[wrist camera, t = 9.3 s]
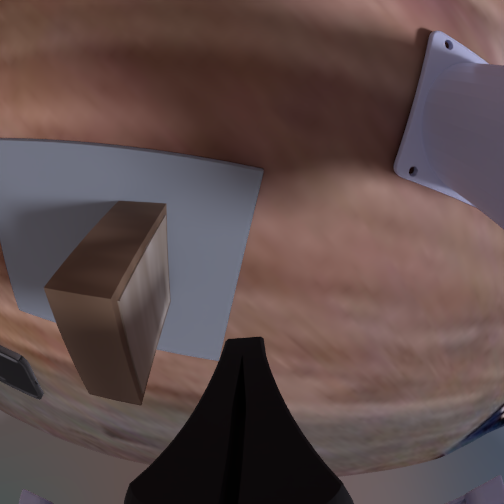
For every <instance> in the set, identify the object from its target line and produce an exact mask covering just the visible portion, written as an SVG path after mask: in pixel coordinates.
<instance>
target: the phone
mask: <svg viewBox="0 0 504 504" xmlns="http://www.w3.org/2000/svg"><path fill="white" fill-rule="evenodd" d="M34 380H36V382H37V384H36V383H35V381H34ZM0 381H1V382H3V383H5V384H7V385H9V386H11V387H13V388H15V389H17V390H19V391H21V392H23V393H25V394H27V395H29V396H32V397H34V398H36V399H41V398H42V396H43V394H44V393H43V390H42V389H41V387H40V385H39V383H38V381H37V379H36V377H35V375H34V373H33V371H32V369H31V366H30V364H29V363H28V361H27V360H26V359H25V358H24V357H23V356H21V355H20V354H18V353H16V352H14V351H11V350H9V349H7V348H5V347H3V346H1V345H0Z"/></svg>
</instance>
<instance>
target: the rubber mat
mask: <svg viewBox="0 0 504 504" xmlns="http://www.w3.org/2000/svg"><path fill="white" fill-rule="evenodd" d="M263 172H264V171H263V169H262V168H257V167H252V166H247V165H242V164H237V163H232V162H227V161H221V160H216V159H210V158H204V157H198V156H192V155H186V154H180V153H173V152H167V151H160V150H152V149H145V148H137V147H129V146H120V145H111V144H101V143H90V142H78V141H64V140H48V139H24V138H0V241H1V246H2V251H3V255H4V259H5V263H6V267H7V271H8V275H9V278H10V282H11V285H12V289H13V292H14V295H15V298H16V302H17V305H18V308H19V310H21V311H24V312H26V313H29V314H32V315H35V316H38V317H41V318H44V319H47V320H50V321H53V322H56V321H55V318H54V316H53V313H52V310H51V308H50V305H49V302H48V299H47V296H46V293H45V290H44V286H45V285H46V284H47V283H48V281H49V280H50V279H51V277H52V276H53V275H54V274H55V272H56V271H57V270H58V269H59V267H60V266H61V265H62V264H63V262H64V261H65V260H66V259H67V257H68V256H69V255H70V254H71V253H72V251H73V250H74V249H75V248H76V247H77V246H78V244H79V243H80V242H81V241H82V240H83V239H84V238H85V236H86V235H87V234H88V233H89V232H90V231H91V230H92V229H93V227H94V226H95V225H96V224H97V223H98V222H99V221H100V220H101V219H102V218H103V217H104V215H105V214H106V213H107V212H108V211H109V210H110V209H111V208H112V207H113V206H114V205H115V204H116V203H117V202H118V201H135V202H152V203H167V244H168V266H169V283H170V298H171V302H170V305H169V309H168V312H167V315H166V318H165V322H164V325H163V328H162V332H161V335H160V339H159V342H158V346H157V350H162V351H167V352H172V353H177V354H182V355H187V356H193V357H198V358H204V359H210V360H216V361H219V357H220V353H221V349H222V344H223V340H224V336H225V331H226V327H227V323H228V319H229V314H230V310H231V306H232V302H233V297H234V293H235V289H236V285H237V280H238V276H239V272H240V268H241V263H242V259H243V255H244V251H245V247H246V242H247V238H248V234H249V230H250V226H251V222H252V217H253V213H254V209H255V205H256V201H257V197H258V193H259V189H260V184H261V180H262V176H263Z"/></svg>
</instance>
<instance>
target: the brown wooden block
mask: <svg viewBox="0 0 504 504" xmlns="http://www.w3.org/2000/svg"><path fill="white" fill-rule="evenodd" d="M44 290H45V293H46V296H47V299H48V302H49V305H50V308H51V310H52V313H53V316H54V318H55V321H56V323H57V326H58V328H59V331H60V333H61V336H62V338H63V340H64V343H65V345H66V347H67V349H68V352H69V354H70V356H71V358H72V360H73V362H74V365H75V367H76V369H77V371H78V373H79V375H80V377H81V379H82V381H83V383H84V385H85V387H86V389H87V390H88V392H89V394H92V395H96V396H100V397H104V398H108V399H112V400H117V401H121V402H126V403H131V404H136V405H142V401H143V397H144V393H145V389H146V386H147V382H148V378H149V374H150V371H151V367H152V363H153V360H154V356H155V353H156V349H157V346H158V342H159V339H160V335H161V332H162V328H163V325H164V322H165V318H166V315H167V312H168V309H169V305H170V302H171V298H170V283H169V266H168V244H167V203H152V202H135V201H118V202H117V203H116V204H115V205H114V206H113V207H112V208H111V209H110V210H109V211H108V212H107V213H106V214H105V215H104V217H103V218H102V219H101V220H100V221H99V222H98V223H97V224H96V225H95V226H94V227H93V229H92V230H91V231H90V232H89V233H88V234H87V235H86V236H85V238H84V239H83V240H82V241H81V242H80V243H79V244H78V246H77V247H76V248H75V249H74V250H73V251H72V253H71V254H70V255H69V256H68V257H67V259H66V260H65V261H64V262H63V264H62V265H61V266H60V267H59V269H58V270H57V271H56V272H55V274H54V275H53V276H52V277H51V279H50V280H49V281H48V283H47V284H46V285H45V286H44Z"/></svg>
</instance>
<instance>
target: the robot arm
mask: <svg viewBox="0 0 504 504" xmlns="http://www.w3.org/2000/svg"><path fill="white" fill-rule="evenodd" d="M445 41H446V42H447V43H448V45H449V48H448V49H447V48H446V46H445ZM412 166H414V171H413V173H411V174H409V169H410V168H411V167H412ZM394 171H395V173H396V174H397V175H398V176H400V177H402V178H404V179H407V180H410V181H413V182H415V183H418V184H421V185H423V186H426V187H428V188H431V189H434V190H436V191H439V192H441V193H444V194H446V195H448V196H451V197H453V198H456V199H458V200H460V201H463V202H465V203H467V204H469V205H472V206H474V207H476V208H478V209H479V210H480V211H482V212H483V213H484V214H485V215H487V216H488V217H489V218H490V219H492V220H493V221H494V222H495V223H497V224H498V225H499V226H500V227H501V228H503V229H504V66H502V65H493V64H488V63H487V62H486V61H485V60H483V59H482V58H480V57H479V56H478V55H476V54H475V53H474V52H472V51H471V50H469V49H468V48H466V47H465V46H463V45H462V44H460V43H459V42H457V41H456V40H454V39H453V38H451V37H450V36H448V35H446V34H445V33H443V32H441V31H433V32H431V33H430V35H429V40H428V45H427V49H426V54H425V58H424V62H423V67H422V71H421V75H420V79H419V83H418V86H417V90H416V94H415V98H414V101H413V105H412V108H411V112H410V115H409V118H408V122H407V125H406V128H405V132H404V135H403V138H402V141H401V144H400V147H399V150H398V153H397V156H396V159H395V162H394ZM19 504H53V503H52V502H50V501H48V500H46V499H44V498H42V497H40V496H38V495H36V494H34V493H31V492H29V491H27V490H25V489H22V493H21V496H20V501H19ZM124 504H354V503H353V500H352V498H351V497H350V495H349V493H348V491H347V490H346V488H345V487H344V485H343V483H342V481H341V480H340V479H339V478H338V477H337V476H336V475H335V474H334V473H333V472H332V471H331V469H330V468H329V467H328V466H327V465H326V464H325V462H324V461H323V460H322V459H321V457H320V456H319V455H318V454H317V452H316V451H315V450H314V448H313V447H312V445H311V444H310V443H309V441H308V440H307V438H306V437H305V436H304V434H303V433H302V431H301V430H300V428H299V426H298V425H297V423H296V422H295V420H294V418H293V416H292V415H291V413H290V411H289V409H288V408H287V406H286V404H285V402H284V400H283V398H282V396H281V394H280V392H279V389H278V387H277V385H276V382H275V380H274V377H273V375H272V372H271V370H270V367H269V364H268V360H267V357H266V352H265V345H264V339H263V338H262V337H250V338H237V339H228V340H227V341H226V342H225V345H224V349H223V352H222V354H221V357H220V360H219V362H218V365H217V367H216V369H215V372H214V374H213V376H212V378H211V380H210V382H209V384H208V386H207V388H206V390H205V392H204V394H203V396H202V397H201V399H200V401H199V403H198V405H197V406H196V408H195V410H194V411H193V413H192V415H191V416H190V418H189V419H188V421H187V422H186V423H185V425H184V426H183V428H182V429H181V430H180V432H179V433H178V434H177V436H176V437H175V438H174V440H173V441H172V442H171V443H170V444H169V446H168V447H167V448H166V449H165V450H164V451H163V452H162V453H161V454H160V456H159V457H158V458H157V459H156V460H155V461H154V462H153V463H152V464H151V465H150V466H149V467H148V468H147V469H146V470H145V471H144V472H142V473H141V474H140V475H139V476H138V477H137V478H136V479H135V480H134V481H132V482H131V483H130V484H129V487H128V490H127V493H126V496H125V500H124ZM446 504H504V484H503V480H502V477H501V476H500V475H499V476H497V477H495V478H493V479H492V480H490V481H488V482H486V483H484V484H482V485H480V486H479V487H477V488H475V489H473V490H471V491H469V492H468V493H466V494H465V495H464V496H461V497H459V498H457V499H455V500H453V501H450V502H448V503H446Z"/></svg>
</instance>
